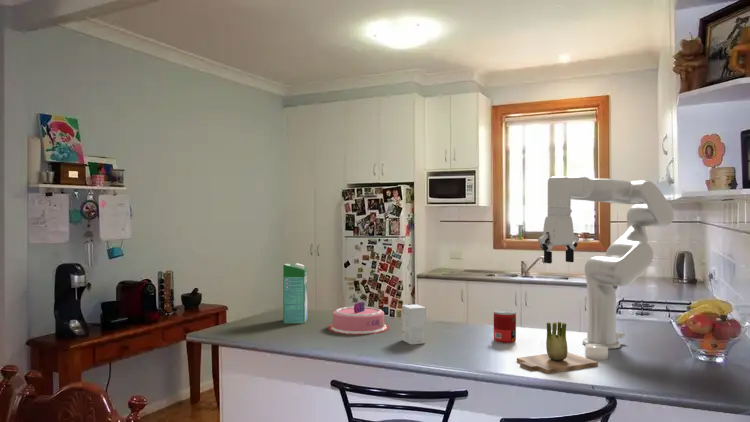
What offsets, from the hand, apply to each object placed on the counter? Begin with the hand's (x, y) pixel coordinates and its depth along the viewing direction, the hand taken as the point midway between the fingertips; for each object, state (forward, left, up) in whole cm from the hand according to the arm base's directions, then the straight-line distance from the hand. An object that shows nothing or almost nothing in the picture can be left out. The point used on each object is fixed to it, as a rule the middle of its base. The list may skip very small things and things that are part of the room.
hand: (558, 262), depth 189 cm
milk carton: (+68, -85, -31) cm, 113 cm away
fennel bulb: (+12, +12, -29) cm, 34 cm away
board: (+13, +12, -30) cm, 35 cm away
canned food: (+8, -19, -31) cm, 37 cm away
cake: (+48, -62, -31) cm, 84 cm away
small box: (+39, -32, -31) cm, 59 cm away
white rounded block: (-6, +11, -31) cm, 33 cm away
